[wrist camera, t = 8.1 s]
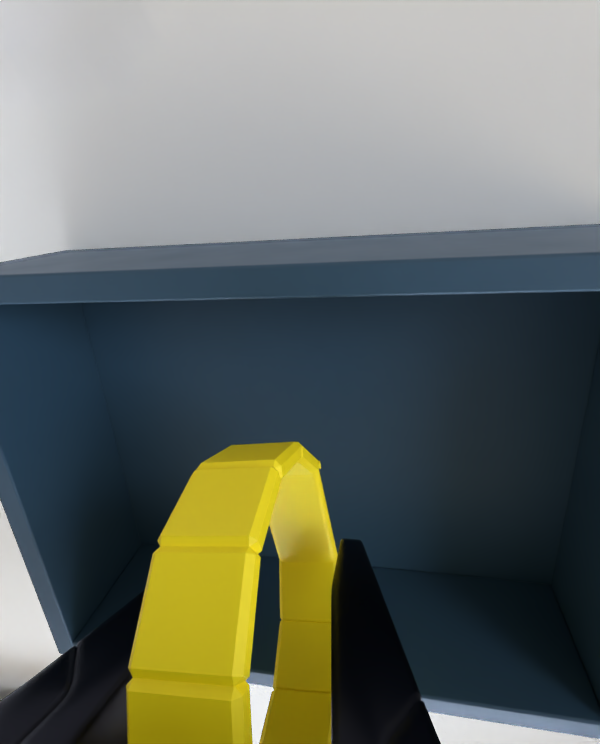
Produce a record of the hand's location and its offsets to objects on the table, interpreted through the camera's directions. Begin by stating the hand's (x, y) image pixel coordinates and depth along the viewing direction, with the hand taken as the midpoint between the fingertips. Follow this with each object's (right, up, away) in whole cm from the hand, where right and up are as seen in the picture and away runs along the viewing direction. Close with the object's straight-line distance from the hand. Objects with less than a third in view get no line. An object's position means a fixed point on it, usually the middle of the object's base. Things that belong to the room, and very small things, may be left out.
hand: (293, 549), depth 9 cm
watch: (0, +1, +1) cm, 1 cm away
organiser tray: (+1, +2, +5) cm, 5 cm away
